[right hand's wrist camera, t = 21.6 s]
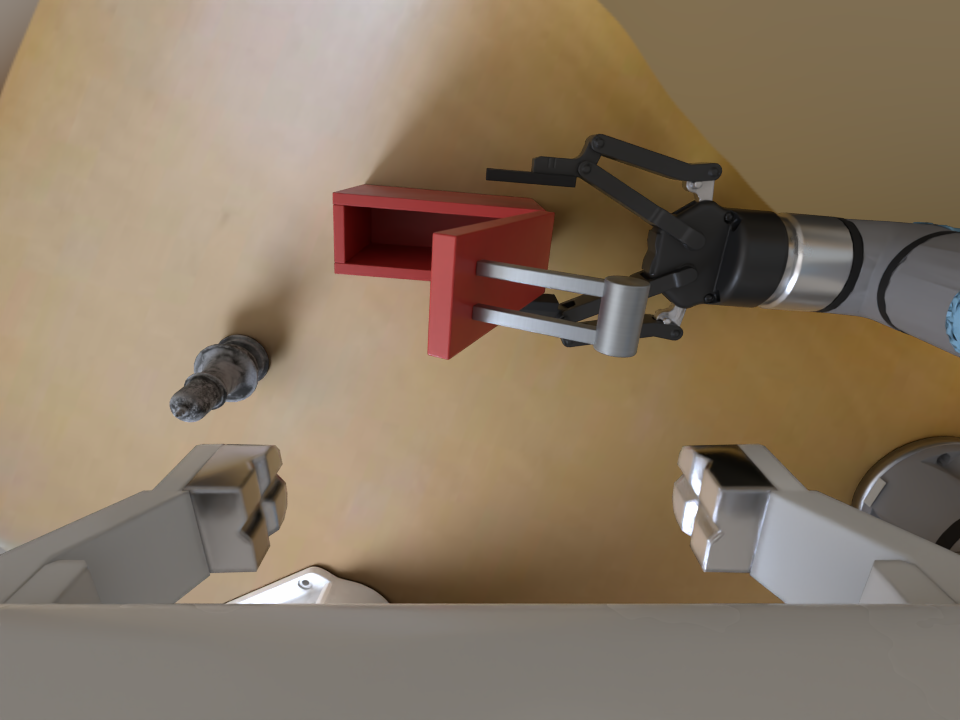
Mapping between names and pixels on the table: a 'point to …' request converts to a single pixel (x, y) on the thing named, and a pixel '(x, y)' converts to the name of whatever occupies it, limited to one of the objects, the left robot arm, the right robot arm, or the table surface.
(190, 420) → the grey chess bishop
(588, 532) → the table surface
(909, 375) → the table surface
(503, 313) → the lid
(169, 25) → the table surface
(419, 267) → the chest
